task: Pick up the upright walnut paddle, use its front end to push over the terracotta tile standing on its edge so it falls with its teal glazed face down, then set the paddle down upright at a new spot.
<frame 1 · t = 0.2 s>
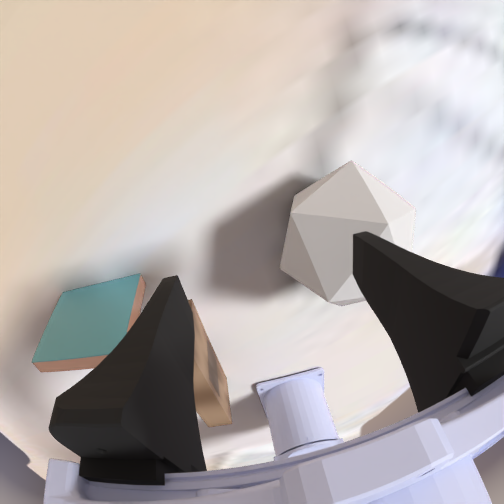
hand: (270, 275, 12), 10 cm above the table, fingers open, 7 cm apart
tile: (101, 289, 23), on the table
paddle: (199, 346, 28), on the table
die: (326, 211, 22), on the table
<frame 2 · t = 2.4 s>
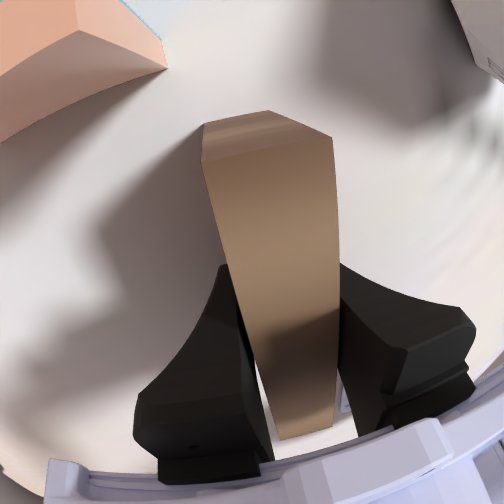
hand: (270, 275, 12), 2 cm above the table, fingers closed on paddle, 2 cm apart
tile: (66, 91, 8), on the table
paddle: (263, 253, 13), on the table, touching gripper
die: (471, 14, 8), on the table
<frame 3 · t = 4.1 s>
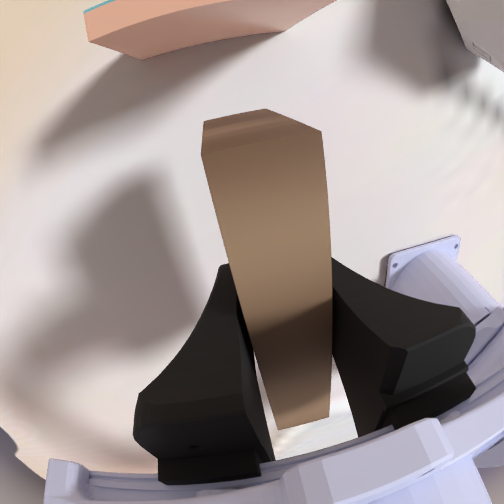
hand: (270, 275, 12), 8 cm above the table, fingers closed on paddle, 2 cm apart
tile: (211, 31, 13), on the table
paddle: (261, 246, 14), point 5 cm above the table, touching gripper
die: (463, 16, 12), on the table
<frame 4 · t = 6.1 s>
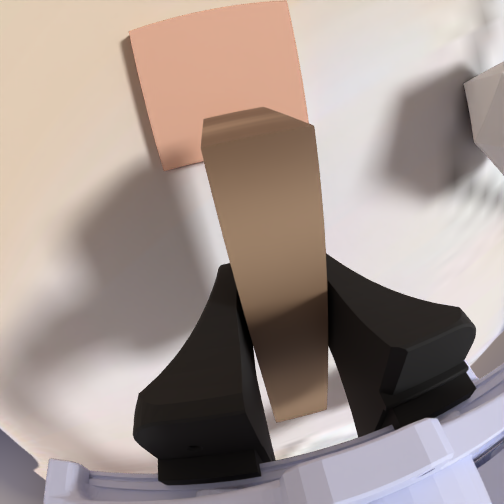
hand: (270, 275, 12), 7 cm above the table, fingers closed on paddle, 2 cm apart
tile: (236, 150, 16), on the table, tilted 90°
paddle: (259, 241, 14), point 4 cm above the table, touching gripper
die: (480, 109, 16), on the table
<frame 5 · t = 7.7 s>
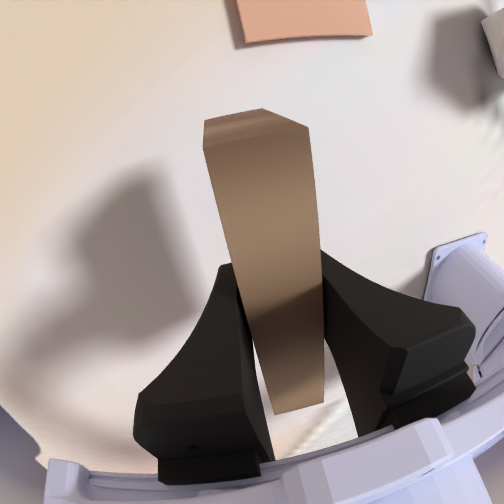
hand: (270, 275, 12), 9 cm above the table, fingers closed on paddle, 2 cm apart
tile: (311, 36, 14), on the table, tilted 90°
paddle: (258, 238, 15), point 6 cm above the table, touching gripper
die: (496, 45, 14), on the table
when the fingers open (3 cm above the table, at t = 9.1 s): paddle stays where it is, on the table.
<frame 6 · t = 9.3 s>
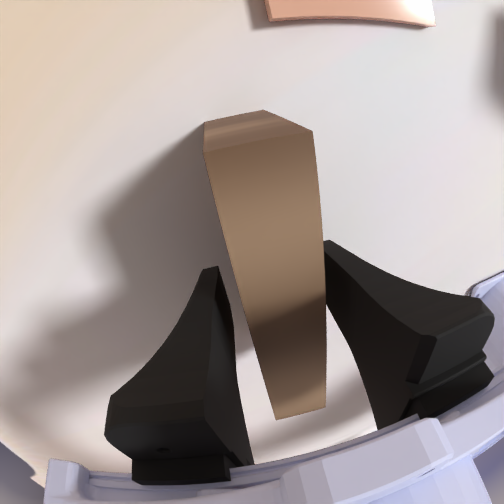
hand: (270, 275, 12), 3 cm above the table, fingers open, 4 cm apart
tile: (360, 19, 9), on the table, tilted 90°
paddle: (259, 241, 14), on the table
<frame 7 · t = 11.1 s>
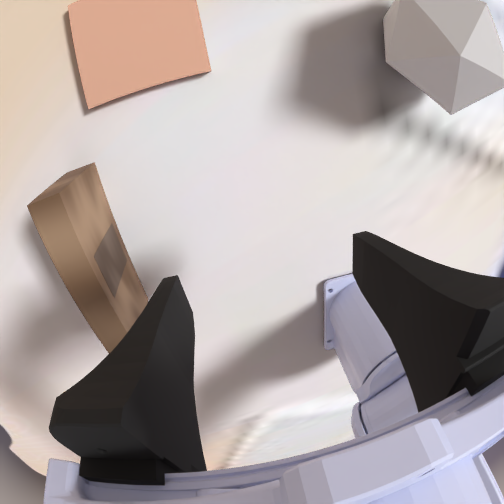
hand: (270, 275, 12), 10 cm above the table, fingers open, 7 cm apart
tile: (148, 87, 16), on the table, tilted 90°
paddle: (108, 240, 21), on the table
die: (409, 45, 16), on the table
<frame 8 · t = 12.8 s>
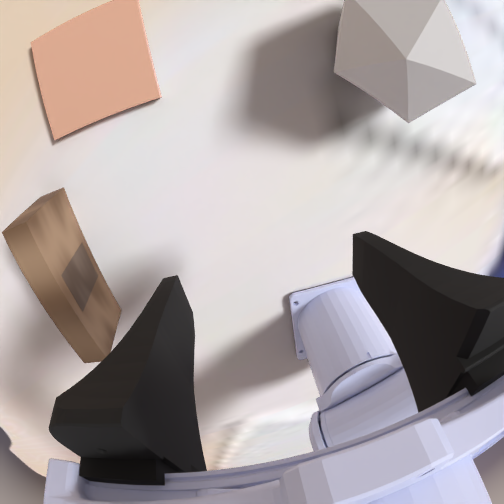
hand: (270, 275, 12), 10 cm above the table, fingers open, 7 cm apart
tile: (105, 117, 17), on the table, tilted 90°
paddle: (81, 257, 22), on the table
die: (370, 50, 16), on the table
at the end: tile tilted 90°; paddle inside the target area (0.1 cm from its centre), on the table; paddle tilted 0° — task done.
